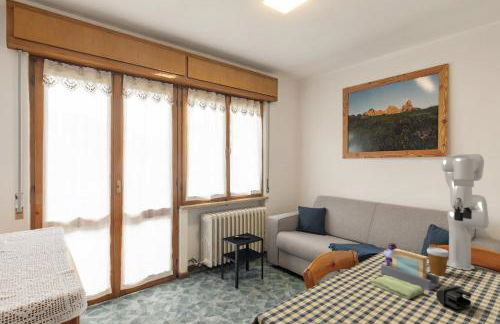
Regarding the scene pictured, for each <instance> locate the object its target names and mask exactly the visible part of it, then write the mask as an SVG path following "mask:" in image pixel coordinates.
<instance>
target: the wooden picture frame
mask: <svg viewBox="0 0 500 324" xmlns="http://www.w3.org/2000/svg"><path fill="white" fill-rule="evenodd" d="M392 268H395V269H398V270H401V271H404V272H407V273H410V274H413V275H416V276H419V277H422V278H425V279H427V273H428V256H426V255H425V256H424V255H423V254H417V253H414V252H410V251H407V250H402V249H399V248H397V249H394V250H393V253H392Z"/></svg>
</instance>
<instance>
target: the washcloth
mask: <svg viewBox="0 0 500 324" xmlns="http://www.w3.org/2000/svg"><path fill="white" fill-rule="evenodd" d="M370 281H371V283H373V284H372V285H373V286H375V287H377V288H379V289H382V290H383V291H386V292H389V293H391V294H393V295H396V296H398V297H400V298H403V299H405V300H410V299H412V298H416V297H417V296H420V295H423V294H424V292H425V290H424V289H423V288H421V287H420V286H417V285H413V284H410V283H408V282H405V281H402V280H399V279H396V278H394V277H391V276H387V275H385V276H379V277H377V278H372V279H371V280H370Z"/></svg>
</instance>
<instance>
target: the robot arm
mask: <svg viewBox="0 0 500 324" xmlns="http://www.w3.org/2000/svg"><path fill="white" fill-rule="evenodd" d="M484 159H485V158H483V156H482V155H481V154H479V153H476V154H475V153H467V154H466V153H459V154H458V153H457V154H455V155H452V156H444V157H443V158H442V159H441V163H440V164H441V170H442V171H443V172H444V179H445V182H446V184H447V187H448V188H449V200H450V201H449V202H450V207H451V208H452V209H449V210H448V211H447V215H446V216H447V222H448V253H449V256H448V260H447V266H448V267H451V268H454V269H456V270H461V269H463V271H472V270H471V269H474V270H475V266H474V265H473V264H471V260H472V258H471V257H472V253H471V252H472V250H471V249H472V245H471V243H472V236H471V234H470V232H469V231H468V230H467V229H466V228H470V229H478V230H479V229H480V230H485V229H488V227H489V224H490V220H489V211H488V204H487V199H486V198H485V197H484V196H482V195H480V194H473V188H475V187H474V186H475V184H474V183H475V182H476V181H481V180H482V178H483V175H484V174H483V173H484V168H485V160H484Z"/></svg>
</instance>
